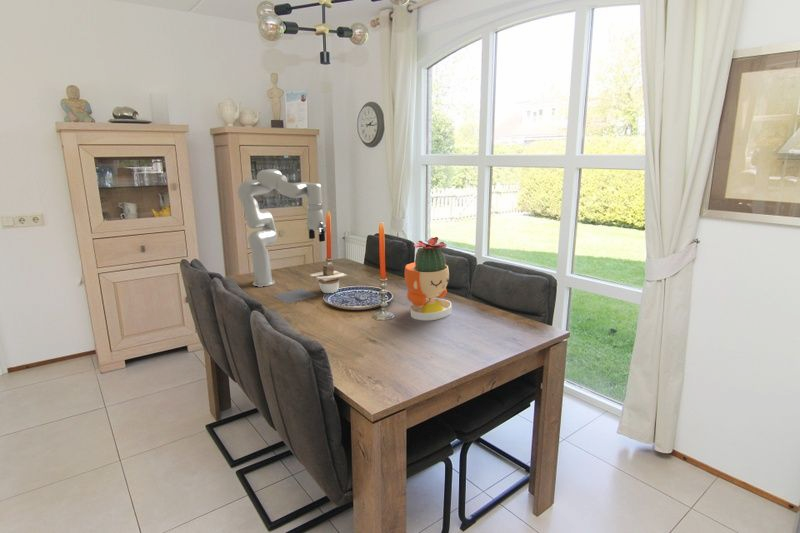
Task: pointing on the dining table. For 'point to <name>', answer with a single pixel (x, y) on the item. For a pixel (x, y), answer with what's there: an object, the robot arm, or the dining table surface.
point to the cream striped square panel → (295, 295)
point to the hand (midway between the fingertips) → (317, 239)
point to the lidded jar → (329, 286)
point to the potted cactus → (428, 282)
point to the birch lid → (328, 274)
